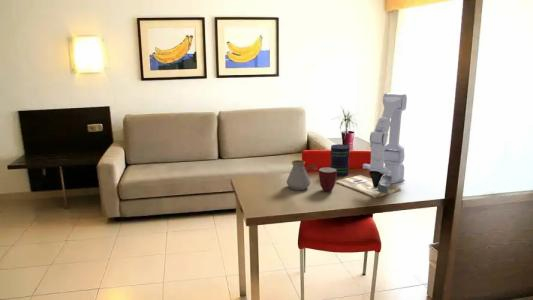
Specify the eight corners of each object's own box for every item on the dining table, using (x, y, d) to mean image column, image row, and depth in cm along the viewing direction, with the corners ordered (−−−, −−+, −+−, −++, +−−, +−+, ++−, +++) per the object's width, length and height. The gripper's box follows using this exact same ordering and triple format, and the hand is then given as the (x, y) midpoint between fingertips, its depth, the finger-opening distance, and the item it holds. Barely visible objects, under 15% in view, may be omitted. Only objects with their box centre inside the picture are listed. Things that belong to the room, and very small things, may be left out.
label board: (360, 176, 203) (360, 174, 203) (400, 190, 182) (400, 188, 181) (335, 182, 195) (335, 180, 194) (374, 197, 173) (374, 195, 173)
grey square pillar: (383, 183, 189) (383, 174, 188) (391, 184, 187) (392, 175, 186) (377, 194, 174) (378, 185, 173) (387, 195, 172) (387, 186, 171)
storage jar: (336, 177, 203) (336, 149, 199) (326, 172, 212) (327, 145, 208) (352, 175, 206) (353, 147, 203) (342, 170, 215) (343, 143, 211)
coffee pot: (282, 185, 191) (282, 156, 187) (303, 182, 195) (303, 153, 192) (304, 200, 172) (304, 167, 168) (326, 195, 176) (327, 163, 173)
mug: (340, 194, 178) (340, 173, 175) (323, 195, 177) (323, 174, 174) (332, 187, 188) (333, 167, 186) (316, 188, 187) (316, 168, 184)
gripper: (358, 156, 177) (357, 184, 181) (384, 162, 166) (382, 193, 169) (369, 153, 181) (368, 181, 184) (395, 160, 169) (393, 190, 173)
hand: (375, 187), depth 177 cm, fingers closed
